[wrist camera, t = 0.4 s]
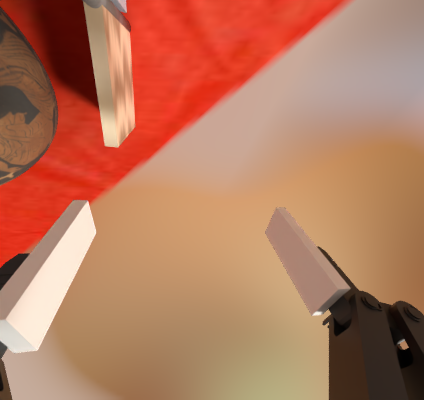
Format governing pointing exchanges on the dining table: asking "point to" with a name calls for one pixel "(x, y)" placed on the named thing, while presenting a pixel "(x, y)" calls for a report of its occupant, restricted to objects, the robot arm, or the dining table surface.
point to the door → (120, 5)
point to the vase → (23, 103)
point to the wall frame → (111, 68)
